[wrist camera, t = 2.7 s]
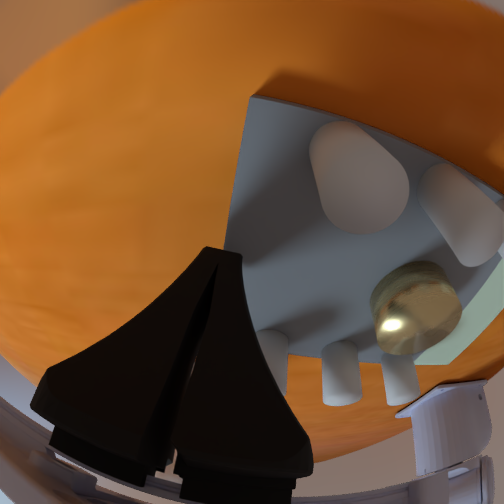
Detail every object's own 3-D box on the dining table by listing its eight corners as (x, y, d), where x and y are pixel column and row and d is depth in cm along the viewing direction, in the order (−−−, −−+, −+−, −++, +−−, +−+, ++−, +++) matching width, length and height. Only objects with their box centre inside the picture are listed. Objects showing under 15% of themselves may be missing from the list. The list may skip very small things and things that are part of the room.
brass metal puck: (460, 269, 10) (477, 301, 8) (418, 324, 12) (427, 355, 11) (394, 252, 10) (410, 288, 8) (355, 317, 12) (361, 352, 10)
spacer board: (543, 225, 8) (579, 271, 5) (444, 353, 16) (456, 399, 12) (253, 94, 8) (231, 110, 5) (214, 325, 15) (199, 387, 12)
